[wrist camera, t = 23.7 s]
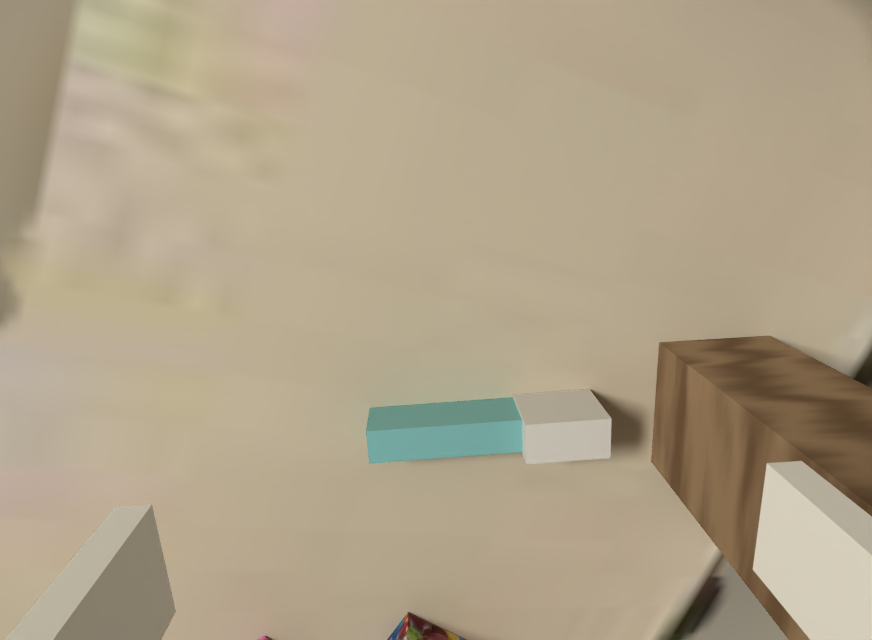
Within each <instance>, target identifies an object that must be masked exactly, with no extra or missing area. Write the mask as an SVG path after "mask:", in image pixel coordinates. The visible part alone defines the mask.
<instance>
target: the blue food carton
mask: <svg viewBox="0 0 872 640" xmlns="http://www.w3.org/2000/svg"><path fill="white" fill-rule="evenodd" d="M387 640H465V639H463V638H461V637H459V636H457V635H454V634H452V633H450V632H448V631H446V630H444V629H442V628H440V627H438V626H436V625H434V624H432V623H430V622H428V621H426V620H424V619H422V618H419V617H417V616H415V615H413V614H411V613H409V612H408V613H407V614H406V616H405V617H404V618H403V620H402V621H401V622H400V624H399V625H398V626H397V628H396V629H395V630H394V632H393V633H392V634H391V635H390V637H389V638H388V639H387Z"/></svg>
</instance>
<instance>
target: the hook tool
mask: <svg viewBox="0 0 872 640" xmlns="http://www.w3.org/2000/svg"><path fill="white" fill-rule="evenodd" d="M611 422H612V418H611V417H610V416H609V414H608V413H607V412H606V410H605V409H604V408H603V406H602V405H601V404H600V402H599V401H598V400H597V398H596V397H595V396H594V394H593V393H592V392H591V390H590V389H580V390H567V391H553V392H539V393H525V394H513V397H512V398H499V399H485V400H471V401H458V402H444V403H430V404H417V405H403V406H389V407H376V408H370V410H369V416H368V422H367V428H366V436H367V446H368V455H369V464H370V463H383V462H396V461H410V460H423V459H436V458H449V457H463V456H476V455H489V454H502V453H516V452H522V454H523V457H524V460H525V462H526V464H539V463H552V462H565V461H578V460H591V459H605V458H610V453H611Z"/></svg>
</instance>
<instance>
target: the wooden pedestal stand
mask: <svg viewBox="0 0 872 640" xmlns="http://www.w3.org/2000/svg"><path fill="white" fill-rule="evenodd" d="M792 461H802V462H804V463H805V464H806V465H807V466H809V467H810V468H811V469H813V470H814V471H815V472H816V473H818V474H819V475H820V476H821V477H823V478H824V479H825V480H826V481H828V482H829V483H830V484H831V485H833V486H834V487H835V488H836V489H838V490H839V491H840V492H842V493H843V494H844V495H845V496H847V497H848V498H849V499H850V500H852V501H853V502H854V503H855V504H857V505H858V506H859V507H860V508H862V509H863V510H864V511H865V512H867V513H868V514H869V515H870V516H872V388H870V387H868V386H866V385H864V384H862V383H860V382H858V381H856V380H854V379H852V378H850V377H848V376H846V375H844V374H842V373H841V372H839V371H837V370H835V369H833V368H831V367H829V366H827V365H825V364H823V363H821V362H819V361H817V360H815V359H813V358H812V357H810V356H808V355H806V354H804V353H802V352H800V351H798V350H796V349H794V348H792V347H790V346H788V345H786V344H784V343H782V342H781V341H779V340H777V339H775V338H773V337H771V336H758V337H742V338H725V339H709V340H693V341H677V342H661V343H659V354H658V369H657V384H656V399H655V414H654V429H653V444H652V459H651V462H652V463H653V465H654V466H655V467H656V468H657V470H658V471H659V472H660V474H661V475H662V476H663V477H664V479H665V480H666V481H667V483H668V484H669V485H670V487H671V488H672V489H673V490H674V492H675V493H676V494H677V496H678V497H679V498H680V499H681V501H682V502H683V503H684V505H685V506H686V507H687V509H688V510H689V511H690V512H691V514H692V515H693V516H694V518H695V519H696V520H697V521H698V523H699V524H700V525H701V527H702V528H703V529H704V530H705V532H706V533H707V534H708V536H709V537H710V538H711V540H712V541H713V542H714V543H715V545H716V546H717V547H718V549H719V550H720V551H721V552H722V554H723V555H724V556H725V558H726V559H727V560H728V562H729V563H730V564H731V565H732V567H733V568H734V569H735V570H736V572H737V573H738V574H739V576H740V577H741V578H742V580H743V581H744V582H745V584H746V585H747V586H748V587H749V589H750V590H751V591H752V593H753V594H754V595H755V596H756V598H757V599H758V600H759V602H760V603H761V604H762V606H763V607H764V608H765V609H766V611H767V612H768V613H769V615H770V616H771V617H772V618H773V620H774V621H775V622H776V624H777V625H778V626H779V627H780V629H781V630H782V631H783V633H784V634H785V635H786V637H787V638H788V639H789V640H810V639H809V638H808V636H807V635H806V634H805V633H804V632H803V630H802V629H801V628H800V627H799V625H798V624H797V623H796V622H795V621H794V619H793V618H792V617H791V616H790V614H789V613H788V612H787V611H786V610H785V608H784V607H783V606H782V605H781V603H780V602H779V601H778V600H777V598H776V597H775V596H774V595H773V594H772V592H771V591H770V590H769V589H768V587H767V586H766V585H765V584H764V583H763V581H762V580H761V579H760V578H759V576H758V575H757V574H756V573H755V572H754V570H753V563H754V556H755V548H756V541H757V533H758V525H759V518H760V510H761V503H762V495H763V488H764V480H765V473H766V465H767V463H777V462H792Z"/></svg>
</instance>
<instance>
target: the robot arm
mask: <svg viewBox="0 0 872 640" xmlns="http://www.w3.org/2000/svg"><path fill="white" fill-rule="evenodd" d="M753 570H754V572H755V573H756V574H757V575H758V576H759V578H760V579H761V580H762V581H763V583H764V584H765V585H766V586H767V587H768V589H769V590H770V591H771V592H772V594H773V595H774V596H775V597H776V598H777V600H778V601H779V602H780V603H781V605H782V606H783V607H784V608H785V610H786V611H787V612H788V613H789V614H790V616H791V617H792V618H793V619H794V621H795V622H796V623H797V624H798V625H799V627H800V628H801V629H802V630H803V632H804V633H805V634H806V635H807V636H808V638H809V639H810V640H872V516H870V515H869V514H868V513H867V512H865V511H864V510H863V509H862V508H860V507H859V506H858V505H857V504H855V503H854V502H853V501H852V500H850V499H849V498H848V497H847V496H845V495H844V494H843V493H842V492H840V491H839V490H838V489H836V488H835V487H834V486H833V485H831V484H830V483H829V482H828V481H826V480H825V479H824V478H823V477H821V476H820V475H819V474H818V473H816V472H815V471H814V470H813V469H811V468H810V467H809V466H807V465H806V464H805V463H804V462H802V461H792V462H777V463H767V465H766V473H765V480H764V488H763V495H762V503H761V510H760V518H759V525H758V533H757V541H756V548H755V556H754V563H753ZM175 611H176V610H175V606H174V601H173V597H172V592H171V588H170V583H169V579H168V575H167V570H166V566H165V561H164V557H163V552H162V548H161V543H160V539H159V534H158V530H157V526H156V521H155V517H154V512H153V508H152V505H140V506H125V507H115V508H114V509H113V510H112V511H111V512H110V514H109V515H108V516H107V517H106V518H105V520H104V521H103V522H102V523H101V524H100V526H99V527H98V528H97V529H96V530H95V532H94V533H93V534H92V535H91V537H90V538H89V539H88V540H87V541H86V543H85V544H84V545H83V546H82V547H81V549H80V550H79V551H78V552H77V553H76V555H75V556H74V557H73V558H72V559H71V561H70V562H69V563H68V564H67V565H66V567H65V568H64V569H63V570H62V571H61V573H60V574H59V575H58V576H57V577H56V579H55V580H54V581H53V582H52V583H51V585H50V586H49V587H48V588H47V589H46V591H45V592H44V593H43V594H42V595H41V597H40V598H39V599H38V600H37V602H36V603H35V604H34V605H33V606H32V608H31V609H30V610H29V611H28V612H27V614H26V615H25V616H24V617H23V618H22V620H21V621H20V622H19V623H18V624H17V626H16V627H15V628H14V629H13V630H12V632H11V633H10V634H9V635H8V636H7V638H6V639H5V640H161V639H162V637H163V635H164V633H165V631H166V629H167V627H168V625H169V623H170V621H171V619H172V617H173V615H174V613H175Z"/></svg>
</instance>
